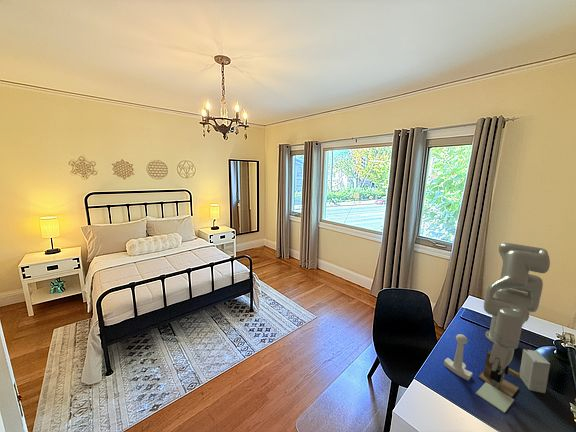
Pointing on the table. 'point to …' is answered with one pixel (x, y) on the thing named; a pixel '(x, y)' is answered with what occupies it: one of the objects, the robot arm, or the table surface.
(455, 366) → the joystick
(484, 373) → the stand
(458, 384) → the table surface
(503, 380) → the grey u-shaped block
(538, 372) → the skincare box
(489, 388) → the mat
